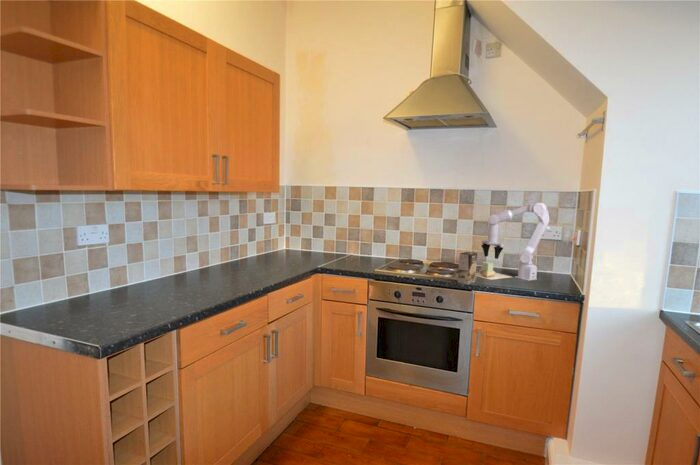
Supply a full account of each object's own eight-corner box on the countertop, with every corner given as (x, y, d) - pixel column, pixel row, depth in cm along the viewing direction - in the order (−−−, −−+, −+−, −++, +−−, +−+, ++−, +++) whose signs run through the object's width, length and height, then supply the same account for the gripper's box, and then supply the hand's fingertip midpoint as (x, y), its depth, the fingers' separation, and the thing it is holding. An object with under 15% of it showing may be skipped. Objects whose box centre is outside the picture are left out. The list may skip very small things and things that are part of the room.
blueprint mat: (512, 277, 235) (512, 276, 235) (490, 280, 226) (490, 279, 225) (490, 272, 248) (490, 271, 248) (469, 274, 239) (469, 273, 239)
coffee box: (468, 284, 214) (470, 254, 212) (457, 282, 218) (459, 253, 216) (475, 282, 221) (477, 252, 219) (464, 280, 225) (466, 251, 223)
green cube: (492, 270, 233) (493, 263, 232) (487, 271, 230) (488, 263, 230) (486, 269, 237) (487, 261, 236) (481, 269, 234) (481, 262, 234)
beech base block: (494, 277, 233) (494, 271, 232) (486, 277, 230) (487, 271, 229) (486, 274, 238) (486, 269, 237) (478, 275, 235) (479, 269, 234)
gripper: (478, 233, 245) (477, 255, 246) (498, 236, 232) (496, 260, 234) (486, 233, 248) (485, 255, 250) (506, 236, 236) (504, 259, 238)
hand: (491, 257), depth 242 cm, fingers open, 7 cm apart
